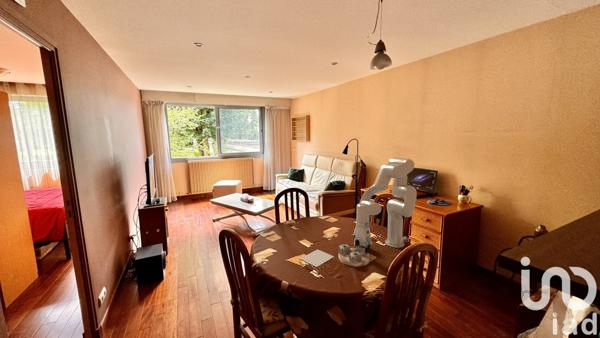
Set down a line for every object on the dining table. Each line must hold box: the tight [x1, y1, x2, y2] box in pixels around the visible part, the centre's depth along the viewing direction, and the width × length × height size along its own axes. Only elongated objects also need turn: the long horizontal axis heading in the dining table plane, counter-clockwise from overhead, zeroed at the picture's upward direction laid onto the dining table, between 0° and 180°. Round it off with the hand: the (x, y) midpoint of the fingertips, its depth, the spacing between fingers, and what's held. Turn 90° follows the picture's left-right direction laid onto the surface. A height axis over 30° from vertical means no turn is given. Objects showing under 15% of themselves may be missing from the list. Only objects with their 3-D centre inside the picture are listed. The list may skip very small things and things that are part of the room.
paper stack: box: [299, 249, 335, 268], centre depth 142 cm, size 23×25×1 cm
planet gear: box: [355, 245, 369, 256], centre depth 149 cm, size 7×7×4 cm
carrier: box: [338, 244, 371, 268], centre depth 147 cm, size 19×19×7 cm
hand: (362, 249), depth 149 cm, fingers open, 9 cm apart
